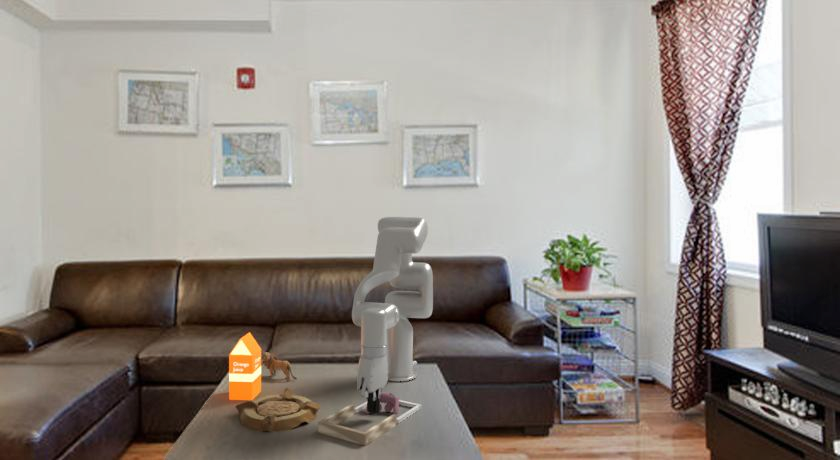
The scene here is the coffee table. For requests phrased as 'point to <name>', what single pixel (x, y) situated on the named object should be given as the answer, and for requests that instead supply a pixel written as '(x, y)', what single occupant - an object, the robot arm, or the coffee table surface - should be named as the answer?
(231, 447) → the coffee table surface
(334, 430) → the wooden u-shaped frame
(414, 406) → the white bay
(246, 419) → the ashtray
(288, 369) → the lion figurine
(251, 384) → the orange juice
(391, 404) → the video game controller
